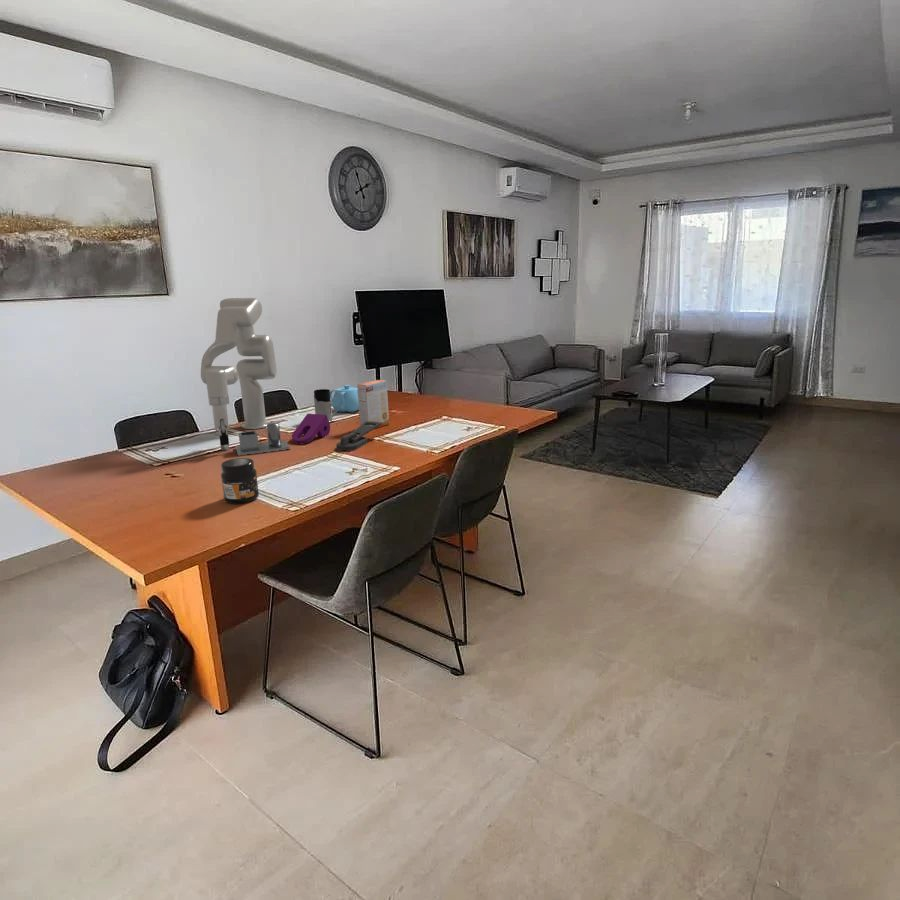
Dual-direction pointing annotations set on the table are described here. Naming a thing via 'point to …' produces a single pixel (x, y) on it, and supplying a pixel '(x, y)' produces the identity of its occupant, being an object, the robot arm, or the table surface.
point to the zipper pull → (356, 437)
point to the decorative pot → (345, 399)
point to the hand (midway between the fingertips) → (224, 441)
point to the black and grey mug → (324, 403)
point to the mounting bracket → (311, 428)
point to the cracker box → (373, 402)
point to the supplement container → (239, 480)
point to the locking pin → (223, 447)
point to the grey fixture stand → (252, 446)
